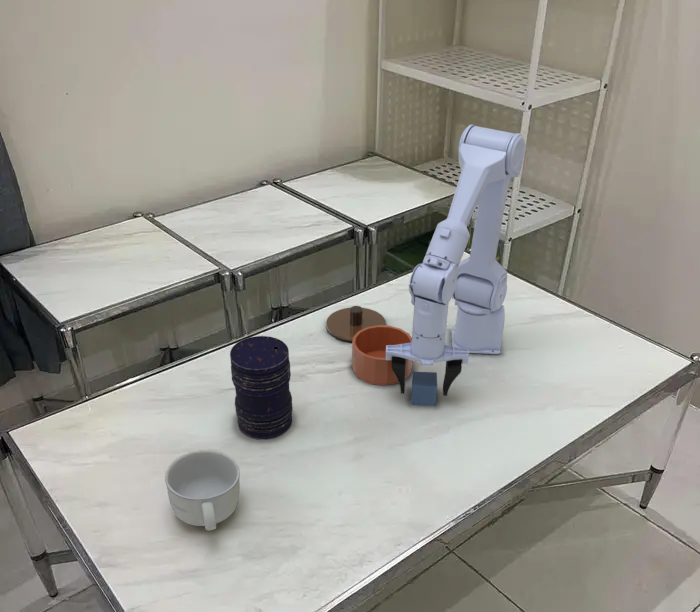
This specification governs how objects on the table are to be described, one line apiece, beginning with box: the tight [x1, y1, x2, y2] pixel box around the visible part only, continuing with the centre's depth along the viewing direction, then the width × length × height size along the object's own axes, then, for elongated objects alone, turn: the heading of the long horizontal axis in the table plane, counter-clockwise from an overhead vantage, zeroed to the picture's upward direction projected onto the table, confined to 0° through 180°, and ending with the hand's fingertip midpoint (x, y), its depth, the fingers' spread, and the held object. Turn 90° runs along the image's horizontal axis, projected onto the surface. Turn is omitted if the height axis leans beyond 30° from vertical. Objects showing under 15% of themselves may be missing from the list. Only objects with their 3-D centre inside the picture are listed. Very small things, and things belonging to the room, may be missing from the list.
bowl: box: [351, 325, 413, 386], centre depth 139 cm, size 12×12×6 cm
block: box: [410, 370, 438, 407], centre depth 132 cm, size 4×4×4 cm
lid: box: [325, 305, 387, 342], centre depth 151 cm, size 13×13×4 cm
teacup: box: [164, 449, 241, 531], centre depth 107 cm, size 14×11×8 cm
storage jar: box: [229, 335, 293, 441], centre depth 123 cm, size 10×10×15 cm
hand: (423, 391), depth 132 cm, fingers open, 7 cm apart
